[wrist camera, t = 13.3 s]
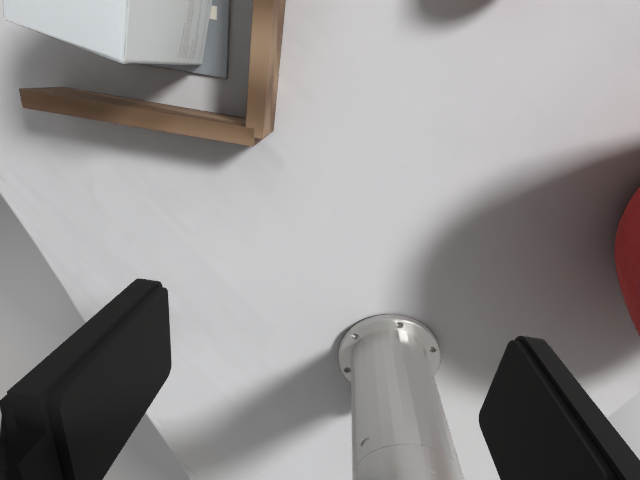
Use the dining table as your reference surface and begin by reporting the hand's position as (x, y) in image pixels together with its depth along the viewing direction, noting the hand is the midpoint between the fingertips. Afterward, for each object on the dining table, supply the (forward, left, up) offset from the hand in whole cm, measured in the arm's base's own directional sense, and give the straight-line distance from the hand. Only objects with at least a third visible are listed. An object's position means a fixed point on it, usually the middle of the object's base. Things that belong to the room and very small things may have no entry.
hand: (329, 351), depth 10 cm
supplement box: (+10, +17, -28) cm, 34 cm away
